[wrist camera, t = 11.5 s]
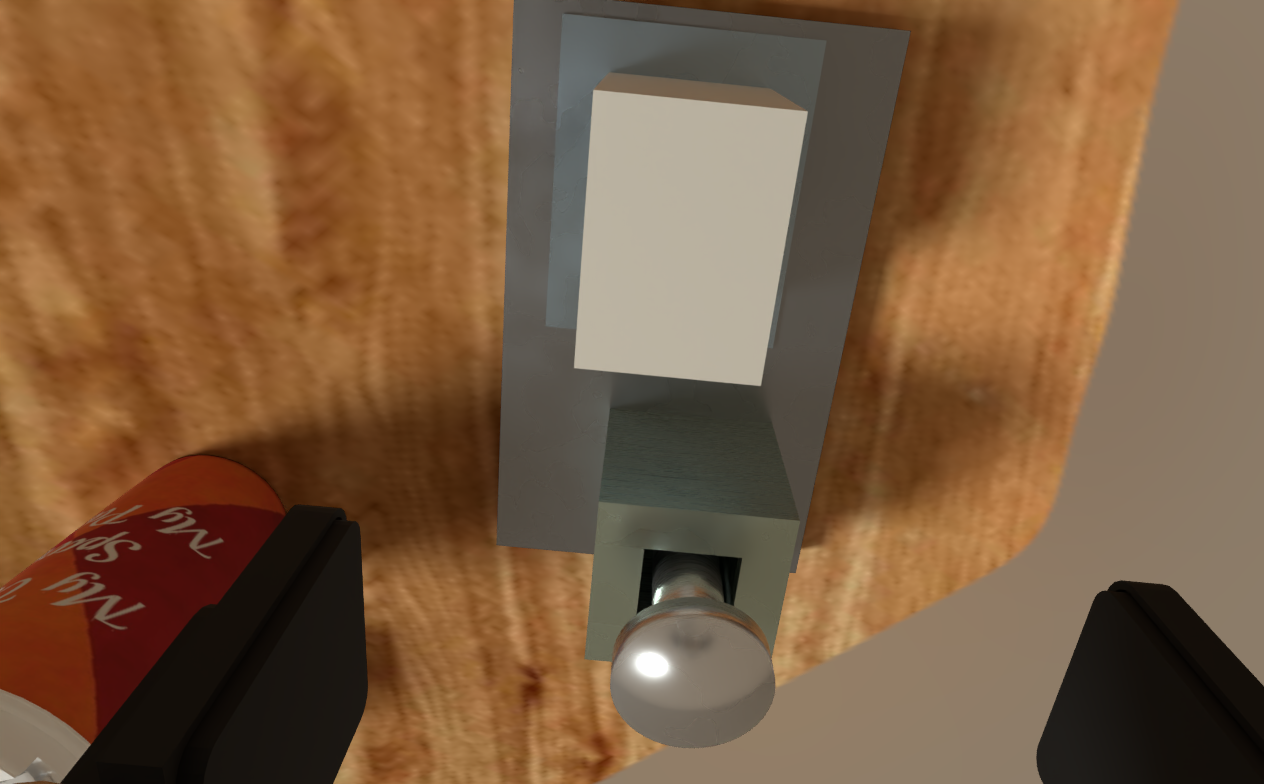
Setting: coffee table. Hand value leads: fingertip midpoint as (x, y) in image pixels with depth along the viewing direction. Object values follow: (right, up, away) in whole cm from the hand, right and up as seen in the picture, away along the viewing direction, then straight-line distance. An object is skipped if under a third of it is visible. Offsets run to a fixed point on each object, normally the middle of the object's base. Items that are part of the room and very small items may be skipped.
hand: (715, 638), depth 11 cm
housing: (0, +10, +16) cm, 19 cm away
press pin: (+1, -2, +17) cm, 17 cm away
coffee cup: (-18, -2, +24) cm, 31 cm away
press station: (0, +6, +20) cm, 21 cm away
